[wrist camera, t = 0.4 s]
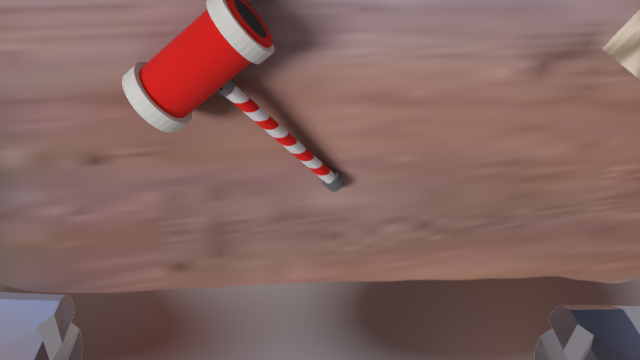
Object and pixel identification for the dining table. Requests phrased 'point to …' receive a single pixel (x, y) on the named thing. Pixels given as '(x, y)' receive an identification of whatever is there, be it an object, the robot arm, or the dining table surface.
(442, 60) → the dining table surface
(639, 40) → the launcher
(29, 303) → the robot arm
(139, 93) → the toy hammer
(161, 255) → the dining table surface
